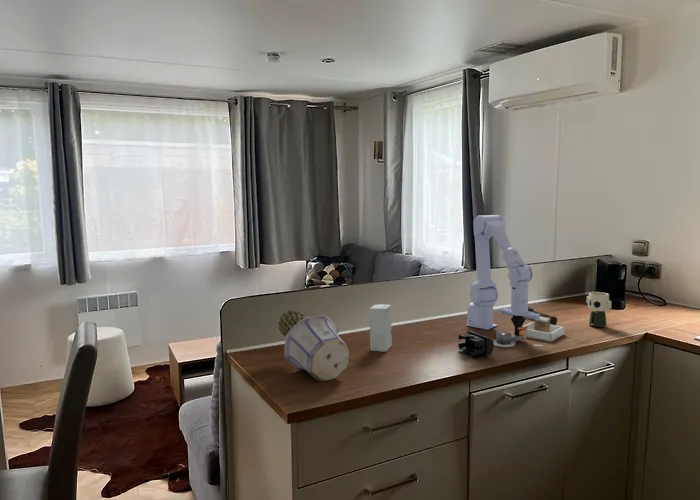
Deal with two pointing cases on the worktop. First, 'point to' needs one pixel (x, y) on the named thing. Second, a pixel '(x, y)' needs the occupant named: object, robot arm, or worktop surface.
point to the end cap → (475, 345)
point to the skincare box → (380, 327)
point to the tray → (554, 332)
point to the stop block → (543, 324)
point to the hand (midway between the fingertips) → (518, 336)
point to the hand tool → (552, 318)
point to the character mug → (598, 308)
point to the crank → (507, 338)
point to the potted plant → (313, 345)
